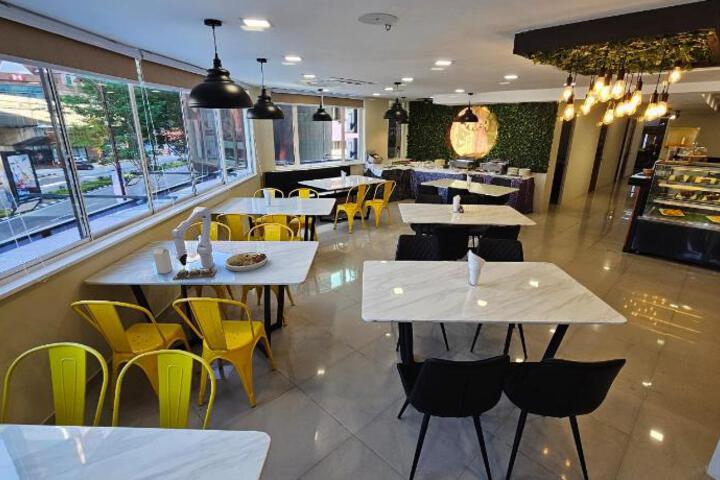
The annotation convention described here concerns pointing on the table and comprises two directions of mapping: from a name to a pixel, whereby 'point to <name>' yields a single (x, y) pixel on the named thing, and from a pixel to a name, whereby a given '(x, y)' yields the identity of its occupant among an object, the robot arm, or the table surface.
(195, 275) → the panel
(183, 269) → the sage button
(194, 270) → the cream button
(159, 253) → the milk carton
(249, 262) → the bowl
